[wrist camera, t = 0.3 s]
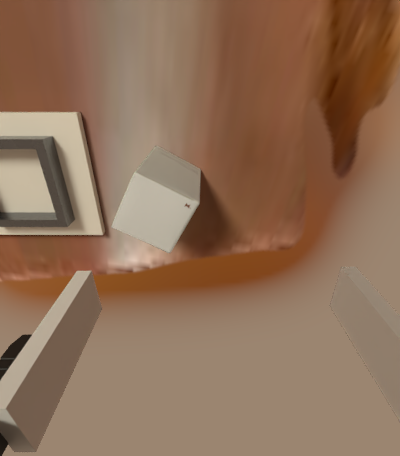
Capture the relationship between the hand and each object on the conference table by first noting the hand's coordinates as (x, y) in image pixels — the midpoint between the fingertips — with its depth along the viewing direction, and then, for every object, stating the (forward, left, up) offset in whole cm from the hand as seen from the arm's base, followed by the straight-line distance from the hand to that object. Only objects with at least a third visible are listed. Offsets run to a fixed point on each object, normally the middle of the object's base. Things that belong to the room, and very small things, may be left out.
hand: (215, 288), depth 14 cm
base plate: (+2, -27, -26) cm, 37 cm away
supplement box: (+2, -6, -26) cm, 27 cm away
